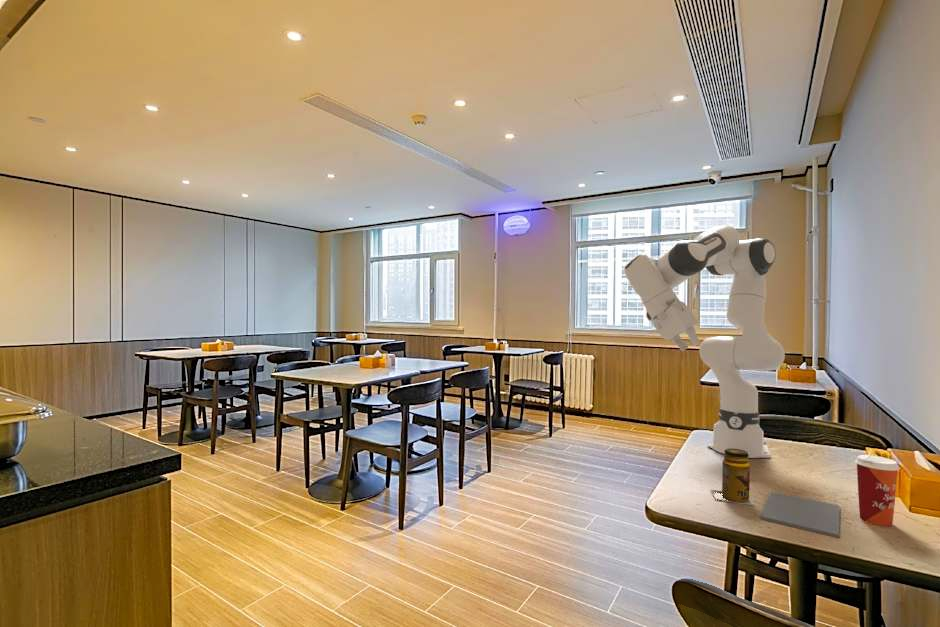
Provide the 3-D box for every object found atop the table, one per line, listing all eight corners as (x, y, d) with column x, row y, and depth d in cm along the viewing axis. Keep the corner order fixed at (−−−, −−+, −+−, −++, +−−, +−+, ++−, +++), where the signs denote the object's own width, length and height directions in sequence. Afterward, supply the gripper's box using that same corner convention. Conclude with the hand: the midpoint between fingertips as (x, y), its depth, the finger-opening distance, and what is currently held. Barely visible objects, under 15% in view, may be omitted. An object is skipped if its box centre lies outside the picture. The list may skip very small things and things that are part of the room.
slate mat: (771, 493, 124) (771, 491, 124) (839, 508, 115) (839, 505, 115) (760, 518, 108) (760, 516, 108) (838, 537, 99) (838, 534, 99)
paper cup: (886, 531, 103) (887, 466, 103) (846, 517, 110) (847, 456, 110) (906, 525, 106) (907, 462, 106) (866, 512, 113) (867, 452, 113)
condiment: (754, 505, 116) (755, 456, 116) (715, 500, 118) (716, 452, 118) (746, 495, 123) (747, 448, 123) (710, 490, 125) (711, 444, 125)
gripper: (684, 290, 128) (715, 334, 125) (662, 308, 148) (688, 347, 144) (664, 301, 128) (694, 346, 125) (644, 318, 148) (670, 357, 144)
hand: (690, 347), depth 135 cm, fingers open, 8 cm apart
